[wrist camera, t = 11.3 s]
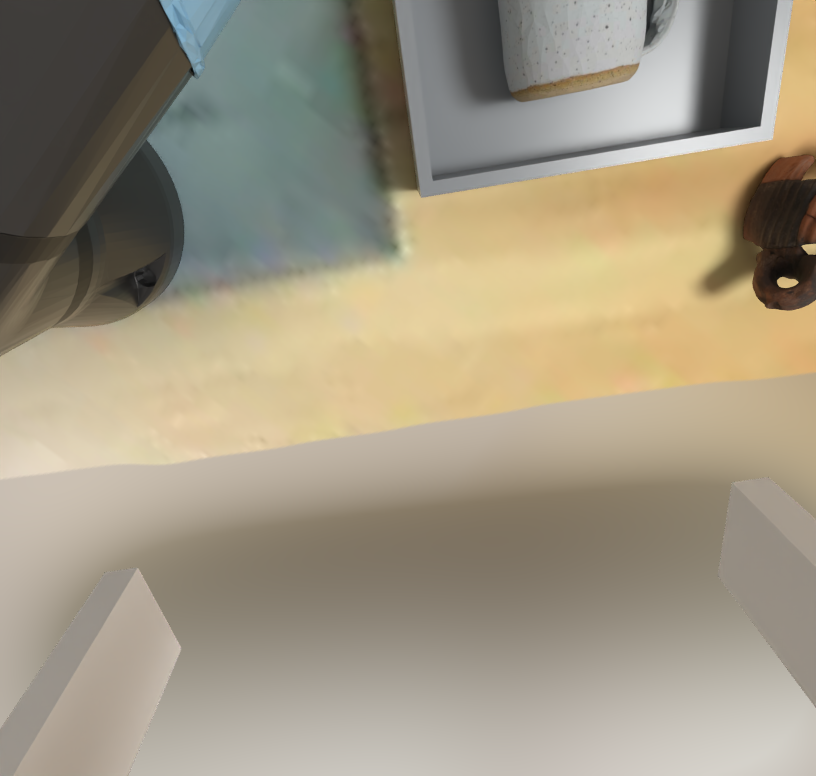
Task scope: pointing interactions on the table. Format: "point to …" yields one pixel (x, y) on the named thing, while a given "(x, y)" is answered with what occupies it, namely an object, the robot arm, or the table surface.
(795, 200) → the brown clay vessel
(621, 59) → the ceramic mug
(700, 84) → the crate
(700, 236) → the table surface
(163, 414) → the table surface
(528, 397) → the table surface
